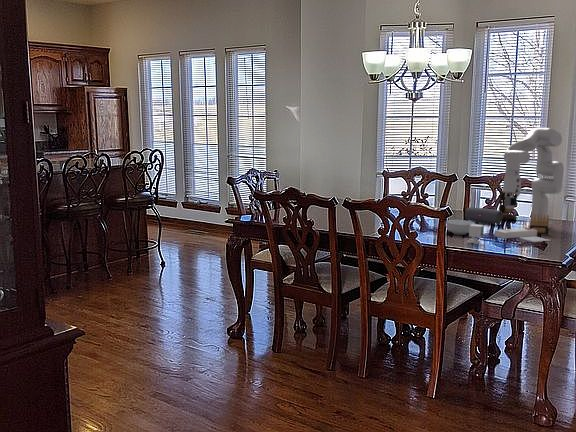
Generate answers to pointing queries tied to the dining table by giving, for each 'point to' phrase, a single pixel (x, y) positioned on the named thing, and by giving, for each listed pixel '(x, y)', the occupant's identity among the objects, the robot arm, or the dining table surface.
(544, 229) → the ammunition clip
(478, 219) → the bluetooth speaker
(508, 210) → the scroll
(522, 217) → the dining table surface
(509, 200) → the block
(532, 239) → the felt pad
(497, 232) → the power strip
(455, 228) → the cereal bowl
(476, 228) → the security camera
